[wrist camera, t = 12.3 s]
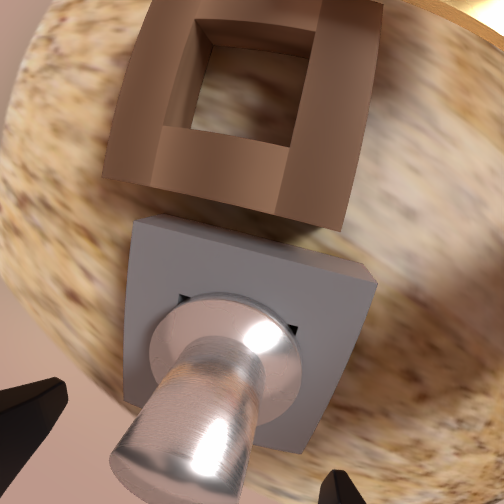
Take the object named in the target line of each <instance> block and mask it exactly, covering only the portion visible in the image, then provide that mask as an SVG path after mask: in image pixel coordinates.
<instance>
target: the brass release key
mask: <svg viewBox="0 0 504 504" xmlns="http://www.w3.org/2000/svg"><path fill="white" fill-rule="evenodd" d="M402 1H405V2H407V3H410V4H413V5H415V6H418V7H420V8H422V9H425V10H427V11H430V12H432V13H434V14H436V15H439V16H441V17H443V18H445V19H447V20H449V21H451V22H453V23H455V24H457V25H459V26H461V27H463V28H465V29H467V30H469V31H471V32H472V33H474V34H476V35H478V36H479V37H481V38H483V39H485V40H486V41H488V42H490V43H491V44H493V45H495V46H496V47H498V48H499V49H501V50H502V51H504V0H402Z"/></svg>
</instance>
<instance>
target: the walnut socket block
mask: <svg viewBox="0 0 504 504" xmlns="http://www.w3.org/2000/svg"><path fill="white" fill-rule="evenodd" d="M382 14H383V4H381V3H377V2H374V1H371V0H152V2H151V5H150V7H149V10H148V12H147V14H146V17H145V19H144V22H143V24H142V27H141V30H140V32H139V35H138V38H137V41H136V43H135V46H134V49H133V52H132V55H131V58H130V61H129V64H128V67H127V71H126V74H125V77H124V81H123V84H122V87H121V91H120V95H119V98H118V102H117V106H116V110H115V114H114V118H113V122H112V127H111V131H110V136H109V140H108V145H107V150H106V155H105V161H104V166H103V172H102V178H108V179H113V180H118V181H123V182H129V183H134V184H139V185H144V186H149V187H153V188H158V189H163V190H168V191H173V192H177V193H182V194H187V195H191V196H196V197H200V198H205V199H209V200H214V201H218V202H222V203H227V204H231V205H235V206H239V207H244V208H248V209H252V210H256V211H260V212H264V213H268V214H272V215H276V216H280V217H284V218H288V219H292V220H296V221H300V222H304V223H308V224H312V225H315V226H319V227H323V228H327V229H331V230H334V231H338V232H341V229H342V225H343V221H344V217H345V214H346V210H347V206H348V202H349V198H350V194H351V190H352V186H353V181H354V177H355V173H356V168H357V164H358V160H359V155H360V150H361V146H362V141H363V136H364V131H365V126H366V121H367V116H368V111H369V105H370V99H371V94H372V88H373V82H374V76H375V69H376V62H377V55H378V48H379V40H380V32H381V23H382ZM213 45H216V46H228V47H238V48H247V49H255V50H262V51H269V52H276V53H282V54H287V55H293V56H298V57H303V58H308V59H310V60H309V65H308V69H307V74H306V78H305V83H304V87H303V92H302V96H301V100H300V105H299V109H298V114H297V118H296V122H295V127H294V131H293V135H292V140H291V144H290V148H289V147H284V146H280V145H275V144H271V143H266V142H261V141H256V140H251V139H246V138H241V137H236V136H230V135H225V134H219V133H213V132H207V131H200V130H194V129H190V128H191V124H192V120H193V116H194V112H195V108H196V104H197V100H198V96H199V93H200V89H201V85H202V82H203V78H204V74H205V71H206V67H207V64H208V61H209V57H210V54H211V51H212V47H213Z"/></svg>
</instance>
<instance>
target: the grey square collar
mask: <svg viewBox="0 0 504 504" xmlns="http://www.w3.org/2000/svg"><path fill="white" fill-rule="evenodd" d="M377 285H378V283H377V282H376V280H375V279H374V278H373V276H372V275H371V274H370V272H369V271H368V270H367V268H366V267H365V266H364V265H363V264H361V263H357V262H354V261H350V260H346V259H342V258H338V257H335V256H331V255H327V254H323V253H319V252H316V251H312V250H308V249H304V248H300V247H296V246H292V245H289V244H285V243H281V242H277V241H273V240H269V239H265V238H261V237H257V236H253V235H249V234H245V233H241V232H237V231H233V230H229V229H225V228H221V227H217V226H213V225H209V224H205V223H201V222H197V221H193V220H189V219H184V218H180V217H176V216H172V215H168V214H164V213H163V214H159V215H155V216H151V217H147V218H142V219H138V220H134V222H133V230H132V237H131V245H130V254H129V264H128V274H127V286H126V300H125V317H124V343H123V392H124V401H126V402H128V403H130V404H132V405H135V406H137V407H140V408H143V407H144V406H145V404H146V403H147V401H148V400H149V398H150V397H151V396H152V394H153V393H154V391H155V390H156V388H157V387H158V386H159V385H158V384H157V382H156V380H155V378H154V375H153V372H152V369H151V365H150V360H149V348H150V342H151V338H152V336H153V333H154V331H155V329H156V328H157V326H158V325H159V323H160V322H161V321H162V320H163V319H164V318H165V317H166V316H167V315H168V314H169V313H170V312H171V311H172V310H173V309H174V308H175V307H176V306H177V305H179V304H180V303H181V302H183V301H185V300H187V299H189V298H191V297H194V296H197V295H200V294H205V293H213V292H226V293H234V294H239V295H243V296H246V297H249V298H252V299H254V300H256V301H259V302H261V303H262V304H264V305H266V306H268V307H269V308H270V309H272V310H273V311H274V312H276V313H277V314H278V315H279V316H280V317H281V318H282V319H283V320H284V321H285V322H286V323H287V324H290V325H291V330H292V331H293V333H294V335H295V336H296V339H297V341H298V343H299V347H300V351H301V357H302V377H301V385H300V389H299V392H298V394H297V397H296V399H295V400H294V402H293V403H292V405H291V406H290V407H289V408H288V409H287V410H286V411H285V412H284V413H283V414H281V415H280V416H279V417H277V418H275V419H274V420H272V421H270V422H267V423H265V424H262V425H259V426H256V430H255V435H254V439H253V445H257V446H261V447H266V448H270V449H275V450H280V451H285V452H291V453H296V454H302V452H303V450H304V449H305V447H306V445H307V443H308V441H309V440H310V438H311V436H312V434H313V432H314V430H315V429H316V427H317V425H318V423H319V421H320V419H321V417H322V415H323V413H324V411H325V409H326V407H327V405H328V403H329V401H330V399H331V397H332V395H333V393H334V391H335V389H336V387H337V384H338V382H339V380H340V378H341V376H342V374H343V371H344V369H345V367H346V365H347V362H348V360H349V358H350V355H351V353H352V351H353V348H354V346H355V343H356V341H357V339H358V336H359V334H360V331H361V329H362V326H363V323H364V321H365V318H366V316H367V313H368V310H369V308H370V305H371V302H372V299H373V296H374V294H375V291H376V288H377Z"/></svg>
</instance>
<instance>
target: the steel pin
mask: <svg viewBox="0 0 504 504" xmlns="http://www.w3.org/2000/svg"><path fill="white" fill-rule="evenodd" d="M149 360H150V365H151V369H152V372H153V375H154V378H155V380H156V382H157V384H158V385H159V386H158V387H157V388H156V390H155V391H154V393H153V394H152V396H151V397H150V398H149V400H148V401H147V403H146V404H145V406H144V407H143V408H142V410H141V411H140V413H139V414H138V416H137V417H136V418H135V420H134V421H133V423H132V424H131V426H130V427H129V428H128V430H127V431H126V433H125V434H124V436H123V437H122V438H121V440H120V441H119V443H118V444H117V446H116V447H115V448H114V450H113V451H112V453H111V455H110V458H109V463H110V467H111V469H112V471H113V473H114V475H115V476H116V477H117V479H118V480H119V481H120V482H121V483H122V484H123V485H124V486H125V487H126V488H127V489H128V490H129V491H130V492H132V493H133V494H134V495H136V496H137V497H138V498H140V499H141V500H143V501H145V502H146V503H148V504H239V499H240V495H241V491H242V487H243V483H244V479H245V475H246V470H247V466H248V462H249V457H250V453H251V448H252V444H253V439H254V435H255V430H256V426H259V425H262V424H265V423H267V422H270V421H272V420H274V419H275V418H277V417H279V416H280V415H281V414H283V413H284V412H285V411H286V410H287V409H288V408H289V407H290V406H291V405H292V403H293V402H294V400H295V399H296V397H297V394H298V392H299V389H300V385H301V377H302V357H301V351H300V347H299V343H298V341H297V339H296V336H295V335H294V333H293V331H292V330H291V328H290V327H289V326H288V324H287V323H286V322H285V321H284V320H283V319H282V318H281V317H280V316H279V315H278V314H277V313H276V312H274V311H273V310H272V309H270V308H269V307H268V306H266V305H264V304H262V303H261V302H259V301H256V300H254V299H252V298H249V297H246V296H243V295H239V294H234V293H226V292H213V293H205V294H200V295H197V296H194V297H191V298H189V299H187V300H185V301H183V302H181V303H180V304H179V305H177V306H176V307H175V308H174V309H173V310H172V311H171V312H170V313H169V314H168V315H167V316H166V317H165V318H164V319H163V320H162V321H161V322H160V323H159V325H158V326H157V328H156V329H155V331H154V333H153V336H152V338H151V342H150V348H149Z"/></svg>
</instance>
